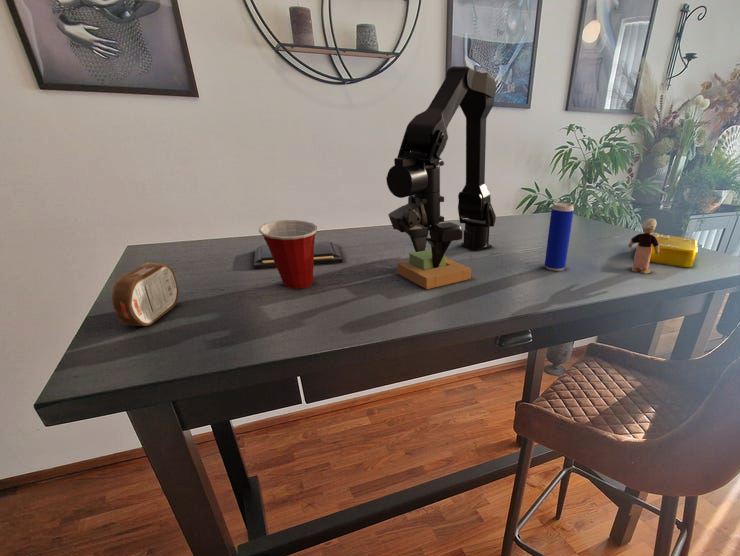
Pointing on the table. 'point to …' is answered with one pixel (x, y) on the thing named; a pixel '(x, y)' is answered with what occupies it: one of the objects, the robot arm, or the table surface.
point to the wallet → (322, 254)
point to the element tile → (674, 250)
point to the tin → (145, 294)
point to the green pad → (424, 260)
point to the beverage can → (559, 236)
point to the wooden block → (435, 274)
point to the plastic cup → (292, 250)
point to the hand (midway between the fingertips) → (428, 263)
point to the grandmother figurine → (644, 246)
